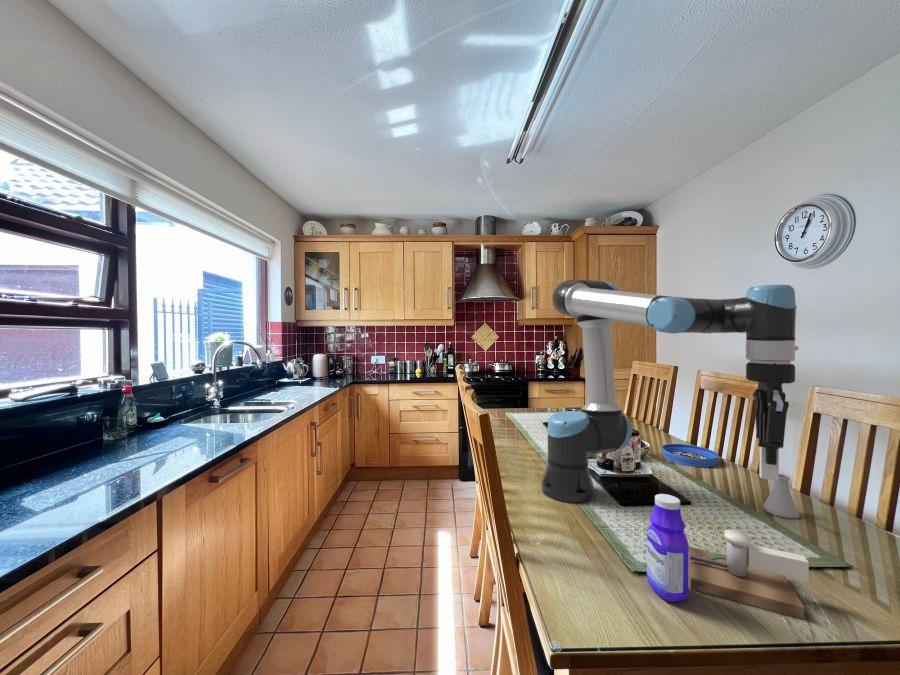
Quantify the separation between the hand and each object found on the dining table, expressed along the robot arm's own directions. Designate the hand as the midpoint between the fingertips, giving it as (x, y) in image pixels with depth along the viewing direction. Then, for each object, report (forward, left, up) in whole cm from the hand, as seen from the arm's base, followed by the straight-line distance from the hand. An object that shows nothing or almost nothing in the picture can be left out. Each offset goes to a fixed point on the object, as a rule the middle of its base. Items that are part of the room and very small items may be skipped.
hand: (768, 478), depth 75 cm
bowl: (-7, +70, -19) cm, 73 cm away
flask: (+10, +32, -19) cm, 38 cm away
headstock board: (-7, -8, -19) cm, 21 cm away
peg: (-5, -8, -16) cm, 19 cm away
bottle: (-19, -17, -19) cm, 31 cm away
